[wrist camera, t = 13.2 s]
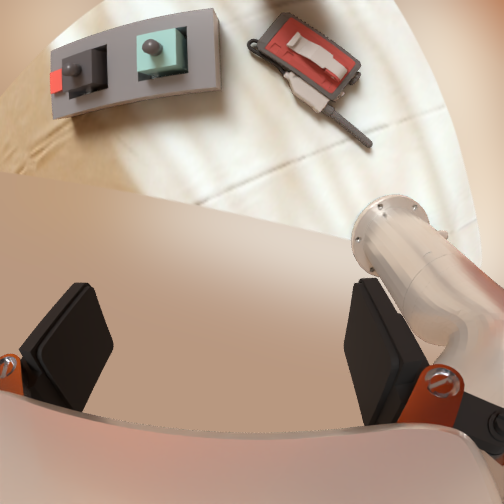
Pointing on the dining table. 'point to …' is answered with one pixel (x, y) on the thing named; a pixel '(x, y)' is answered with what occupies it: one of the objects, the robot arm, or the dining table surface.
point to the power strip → (132, 65)
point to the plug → (162, 53)
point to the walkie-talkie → (310, 65)
